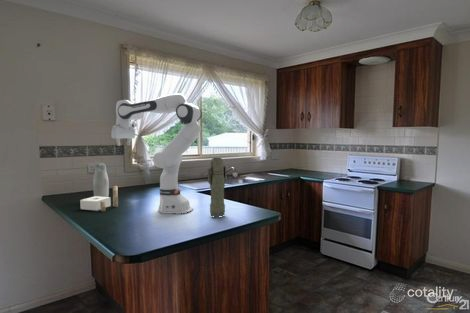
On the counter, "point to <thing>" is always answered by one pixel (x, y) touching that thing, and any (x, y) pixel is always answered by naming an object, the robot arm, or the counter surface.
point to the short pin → (103, 206)
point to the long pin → (115, 196)
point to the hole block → (94, 203)
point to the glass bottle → (101, 181)
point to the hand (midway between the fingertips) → (123, 145)
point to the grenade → (217, 186)
